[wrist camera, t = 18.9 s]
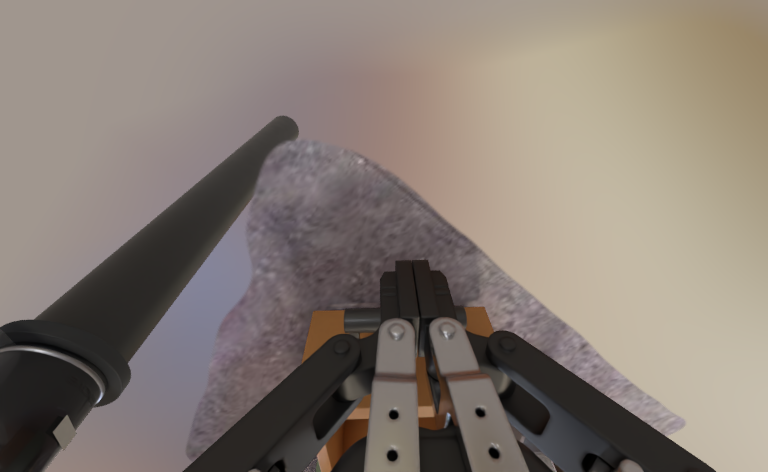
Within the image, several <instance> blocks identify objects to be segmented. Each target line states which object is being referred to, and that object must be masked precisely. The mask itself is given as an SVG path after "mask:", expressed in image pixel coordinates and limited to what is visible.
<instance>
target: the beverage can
mask: <svg viewBox="0 0 768 472" xmlns="http://www.w3.org/2000/svg"><path fill="white" fill-rule="evenodd" d="M536 455H537V456H538V457H539V458H540V459H541V460H542V461H543V462H544V463H545V464H546V465H547V466H548V467H549V468H550V469H551V470H552V471H553V472H555V470H554V467H553V465H552V463H551V460H550V459H549V458H548V457H546V456H545V455H543V454H536Z"/></svg>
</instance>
